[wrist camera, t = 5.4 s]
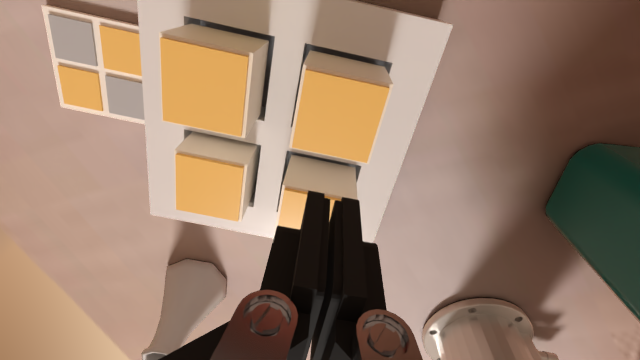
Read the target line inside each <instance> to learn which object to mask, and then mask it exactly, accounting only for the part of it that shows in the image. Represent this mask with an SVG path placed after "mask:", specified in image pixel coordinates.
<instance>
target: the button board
mask: <svg viewBox="0 0 640 360" xmlns="http://www.w3.org/2000/svg"><path fill="white" fill-rule="evenodd" d="M137 7H138V23H139V39H140V55H141V71H142V87H143V103H144V119H145V135H146V151H147V167H148V183H149V199H150V215H155V216H160V217H165V218H170V219H175V220H180V221H186V222H191V223H196V224H201V225H206V226H211V227H217V228H222V229H227V230H232V231H237V232H242V233H248V234H253V235H258V236H263V237H268V238H273V237H274V231H275V225H276V220H277V214H278V208H279V202H280V196H281V191H282V185H283V181H284V178H285V175H286V171H287V168H288V164H289V161H290V158H291V154H292V155H297V156H302V157H306V158H311V159H316V160H321V161H326V162H331V163H335V164H340V165H345V166H350V167H355V170H356V184H357V198H358V200H359V202H360V214H361V226H362V239H363V241H364V242H370V243H373V242H374V239H375V236H376V234H377V231H378V228H379V225H380V223H381V220H382V217H383V215H384V212H385V209H386V206H387V204H388V201H389V198H390V195H391V193H392V190H393V187H394V185H395V182H396V179H397V176H398V174H399V171H400V168H401V166H402V163H403V160H404V157H405V155H406V152H407V149H408V147H409V144H410V141H411V138H412V136H413V133H414V130H415V128H416V125H417V122H418V119H419V117H420V114H421V111H422V108H423V106H424V103H425V100H426V98H427V95H428V92H429V89H430V87H431V84H432V81H433V79H434V76H435V73H436V70H437V68H438V65H439V62H440V60H441V57H442V54H443V51H444V49H445V46H446V43H447V40H448V38H449V35H450V32H451V30H452V27H453V25H452V24H449V23H446V22H444V21H441V20H438V19H435V18H430V17H426V16H422V15H417V14H413V13H409V12H405V11H400V10H396V9H392V8H387V7H383V6H379V5H375V4H370V3H366V2H362V1H357V0H137ZM188 24H196V25H201V26H205V27H210V28H214V29H219V30H223V31H227V32H232V33H236V34H241V35H245V36H250V37H254V38H259V39H263V40H268V41H269V46H268V55H267V63H266V72H265V80H264V88H263V97H262V105H261V114H260V115H259V117H258V119H257V120H256V122H255V123H254V125H253V127H252V128H251V130H250V131H249V133H248V135H247V136H246V138H240V137H235V136H231V135H226V134H221V133H216V132H211V131H207V130H202V129H197V128H192V127H187V126H183V125H178V124H173V123H168V122H163V121H162V108H161V80H160V52H159V32H162V31H165V30H169V29H173V28H177V27H181V26H184V25H188ZM310 50H312V51H317V52H321V53H326V54H330V55H335V56H339V57H344V58H348V59H352V60H357V61H361V62H366V63H370V64H375V65H379V66H384V67H385V68H386V70H387V72H388V74H389V76H390V78H391V80H392V82H393V84H394V85H393V88H392V91H391V95H390V98H389V101H388V104H387V107H386V111H385V114H384V117H383V120H382V123H381V127H380V130H379V133H378V136H377V139H376V143H375V146H374V149H373V152H372V155H371V159H370V162H369V164H365V163H360V162H356V161H351V160H346V159H341V158H336V157H332V156H327V155H322V154H317V153H312V152H308V151H303V150H298V149H293V148H289V144H290V138H291V132H292V126H293V121H294V115H295V109H296V103H297V97H298V92H299V86H300V80H301V74H302V68H303V64H304V62H305V59H306V57H307V55H308V53H309V51H310ZM193 131H195V132H200V133H205V134H210V135H215V136H219V137H224V138H229V139H234V140H239V141H243V142H248V143H253V144H258V145H260V151H259V159H258V167H257V175H256V183H255V191H254V193H253V195H252V198H251V200H250V202H249V205H248V207H247V210H246V212H245V214H244V217H243V219H242V221H241V222H240V221H238V222H237V221H232V220H227V219H222V218H217V217H212V216H206V215H201V214H196V213H191V212H186V211H181V210H176V209H175V163H174V150H175V149H176V148H177V147H178V146H179V145H180V144H181V143H182V142H183V141H184V140H185V139H186V138H187V137H188V136H189V135H190V134H191V133H192V132H193Z"/></svg>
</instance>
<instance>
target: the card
mask: <svg viewBox="0 0 640 360" xmlns="http://www.w3.org/2000/svg"><path fill="white" fill-rule="evenodd" d="M42 10H43V15H44V21H45V26H46V31H47V36H48V42H49V47H50V52H51V57H52V63H53V68H54V73H55V79H56V84H57V89H58V94H59V100H60V105H61V107H63V108H68V109H73V110H78V111H82V112H87V113H92V114H97V115H102V116H107V117H111V118H116V119H121V120H126V121H131V122H136V123H140V124H145V119H144V103H143V87H142V71H141V55H140V39H139V25H137V24H132V23H128V22H123V21H119V20H114V19H110V18H105V17H101V16H96V15H92V14H87V13H83V12H78V11H74V10H69V9H65V8H60V7H56V6H51V5H42Z"/></svg>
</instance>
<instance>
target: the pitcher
mask: <svg viewBox="0 0 640 360" xmlns="http://www.w3.org/2000/svg"><path fill="white" fill-rule="evenodd" d="M546 215H547V217H548V219H549V220H550V221H551V223H552V224H553V225H554V226H555V227H556V228H557V229H558V231H559V232H560V233H561V234H562V235H563V236H564V237H565V239H566V240H567V241H568V242H569V243H570V244H571V245H572V247H573V248H574V249H575V250H576V251H577V252H578V253H579V255H580V256H581V257H582V258H583V259H584V260H585V261H586V263H587V264H588V265H589V266H590V267H591V268H592V269H593V271H594V272H595V273H596V274H597V275H598V276H599V277H600V279H601V280H602V281H603V282H604V283H605V284H606V285H607V287H608V288H609V289H610V290H611V291H612V292H613V293H614V295H615V296H616V297H617V298H618V299H619V300H620V301H621V303H622V304H623V305H624V306H625V307H626V308H627V309H628V311H629V312H630V313H631V314H632V315H633V316H634V317H635V318H636V320H637V321H638V322H639V323H640V147H631V146H622V145H612V144H603V143H597V144H593V145H588V146H587V147H585V148H583V149H581V150H579V151H578V152H577V153H575V154H574V155H573V156H572V157H571V158H570V160H569V162H568V164H567V166H566V168H565V170H564V172H563V174H562V176H561V178H560V179H559V181H558V183H557V185H556V187H555V189H554V191H553V193H552V195H551V197H550V199H549V201H548V203H547V205H546Z"/></svg>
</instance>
